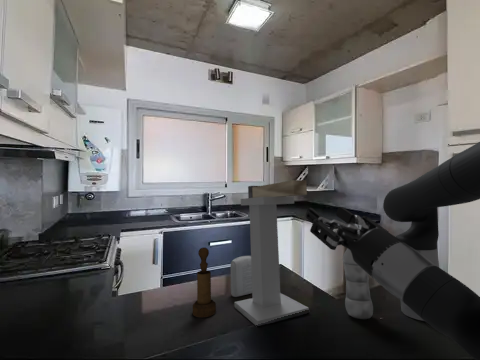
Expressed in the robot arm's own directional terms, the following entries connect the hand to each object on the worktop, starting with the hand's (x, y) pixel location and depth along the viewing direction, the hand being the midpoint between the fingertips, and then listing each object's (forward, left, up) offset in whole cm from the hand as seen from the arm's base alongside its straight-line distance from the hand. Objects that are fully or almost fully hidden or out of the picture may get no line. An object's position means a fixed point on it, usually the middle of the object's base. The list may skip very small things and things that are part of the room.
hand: (323, 211), depth 52 cm
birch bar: (0, -19, +4) cm, 19 cm away
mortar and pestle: (+17, -31, -28) cm, 45 cm away
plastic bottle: (-18, -8, -28) cm, 35 cm away
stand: (0, -23, -28) cm, 36 cm away
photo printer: (0, -39, -28) cm, 48 cm away
